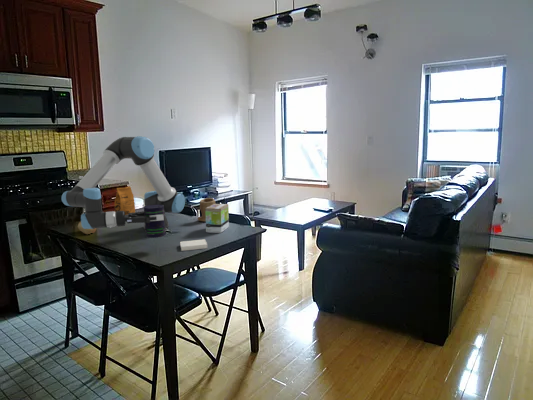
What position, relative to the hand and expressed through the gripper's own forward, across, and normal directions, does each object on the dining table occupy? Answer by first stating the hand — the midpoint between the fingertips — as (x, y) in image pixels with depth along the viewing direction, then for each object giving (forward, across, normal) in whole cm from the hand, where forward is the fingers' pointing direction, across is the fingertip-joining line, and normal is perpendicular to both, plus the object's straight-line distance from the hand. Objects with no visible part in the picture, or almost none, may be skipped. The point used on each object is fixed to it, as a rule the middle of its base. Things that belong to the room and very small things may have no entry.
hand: (163, 215), depth 202 cm
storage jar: (-4, 0, -10) cm, 11 cm away
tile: (+7, 0, -17) cm, 19 cm away
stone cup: (+30, -58, -18) cm, 67 cm away
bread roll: (-45, -54, -18) cm, 72 cm away
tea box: (+31, -31, -18) cm, 47 cm away
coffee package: (-25, -88, -18) cm, 93 cm away
